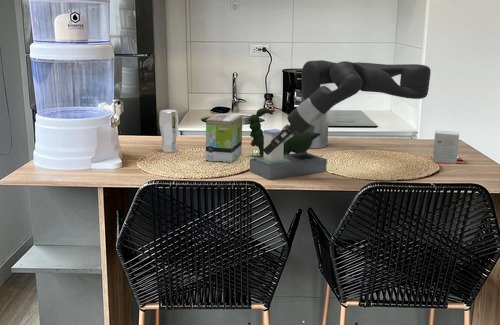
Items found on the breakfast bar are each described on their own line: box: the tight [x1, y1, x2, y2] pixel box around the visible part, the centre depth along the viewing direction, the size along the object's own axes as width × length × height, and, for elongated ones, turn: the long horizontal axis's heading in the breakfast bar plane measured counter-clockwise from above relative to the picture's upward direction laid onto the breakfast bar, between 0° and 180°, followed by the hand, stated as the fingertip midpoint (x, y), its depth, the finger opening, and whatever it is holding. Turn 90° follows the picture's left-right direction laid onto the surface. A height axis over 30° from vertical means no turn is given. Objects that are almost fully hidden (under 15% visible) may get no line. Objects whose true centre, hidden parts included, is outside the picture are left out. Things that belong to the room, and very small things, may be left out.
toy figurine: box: [248, 107, 320, 157], centre depth 196 cm, size 9×19×25 cm
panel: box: [249, 151, 328, 181], centre depth 178 cm, size 22×12×5 cm, turn 121°
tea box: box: [204, 113, 243, 163], centre depth 195 cm, size 15×10×15 cm, turn 168°
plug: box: [263, 128, 284, 163], centre depth 174 cm, size 5×5×12 cm
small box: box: [432, 129, 460, 165], centre depth 194 cm, size 8×6×10 cm
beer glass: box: [158, 109, 179, 153], centre depth 204 cm, size 7×7×15 cm
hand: (268, 150), depth 174 cm, fingers closed on plug, 6 cm apart
